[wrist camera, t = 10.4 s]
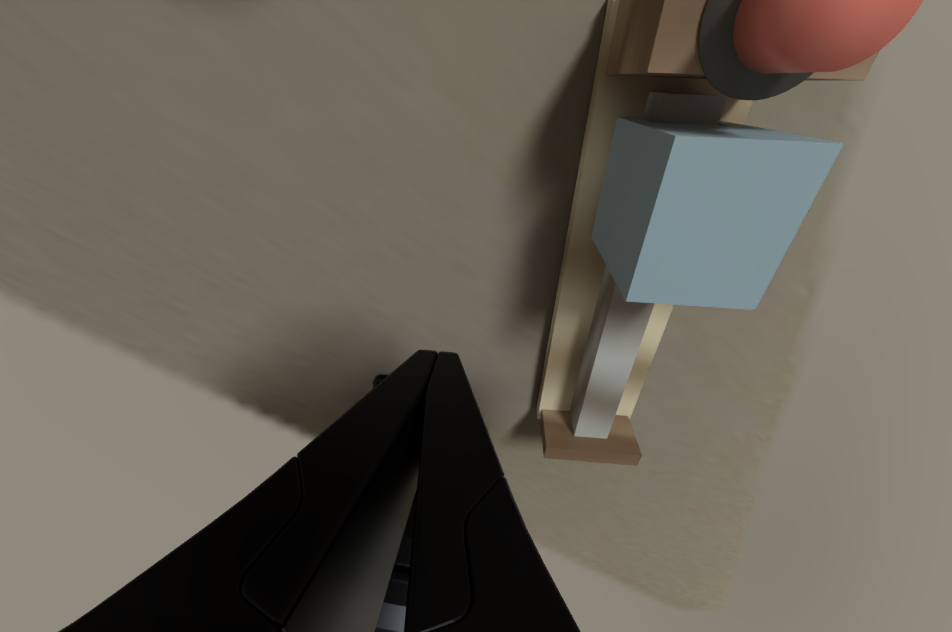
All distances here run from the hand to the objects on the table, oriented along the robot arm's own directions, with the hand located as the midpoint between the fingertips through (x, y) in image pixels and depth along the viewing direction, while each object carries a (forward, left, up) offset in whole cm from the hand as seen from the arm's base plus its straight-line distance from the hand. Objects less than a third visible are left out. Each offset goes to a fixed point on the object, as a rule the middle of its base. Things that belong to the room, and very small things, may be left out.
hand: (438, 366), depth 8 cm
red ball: (+7, -8, -6) cm, 12 cm away
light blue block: (+2, -8, -11) cm, 13 cm away
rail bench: (-3, -8, -12) cm, 15 cm away
